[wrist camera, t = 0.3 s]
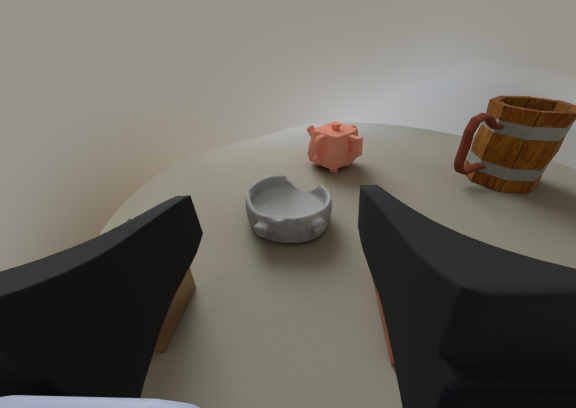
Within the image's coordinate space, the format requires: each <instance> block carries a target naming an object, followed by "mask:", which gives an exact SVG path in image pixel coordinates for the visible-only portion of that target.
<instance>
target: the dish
mask: <svg viewBox="0 0 576 408" xmlns="http://www.w3.org/2000/svg"><path fill="white" fill-rule="evenodd" d="M331 208H332V199H331V195H330V192H329V191H328V190H327V189H326V187H325V186H323V185H319V186H318V187H317V188H316V189H314V190H312V191H303V190H300V189H298V188H296V187H295V186H294V185H293V184H292V183H291V182H289V181H288V180H287V178H286V177H285V176H284V175H274V176H266V177H264V178H263V179H260V180H258V181H257V182H255V183H254V184H253V185H251V186H250V187H249V189H248V191H247V194H246V212H247V216H248V219H249V222H250V224H251V226H252V228H253V230H254V232H255V233H256V234H257V235H258V236H260V237H264V238H266V239H268V240H271V241H275V242H281V243H299V242H306V241H310V240H312V239H315V238H317V237H319V236H320V235H321V234H322V233H323V232H324V231H325V229H326V228H327V226H328V223H329V220H330V216H331Z"/></svg>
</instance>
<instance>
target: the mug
mask: <svg viewBox="0 0 576 408" xmlns="http://www.w3.org/2000/svg"><path fill="white" fill-rule="evenodd" d="M575 120H576V105H573V104H570V103H567V102H564V101H557V100H551V99H544V98H537V97H530V96H498V97H496V98H493V99H490V101H489V105H488V108H487V113H481V114H479V115H477V116H475V117H473V118H471V120H470V122H469V123H468V125H467V126H466V128H465V130H464V133H463V137H462V140H461V144H460V146H459V149H458V152H457V155H456V158H455V161H454V169H455V171H456V172H459V173H461V174H464V175H466V176H467V177H468V178H469V179H470V180H471V181H472V182H475V183H477V184H480V185H483V186H486V187H488V188H491V189H494V190H497V191H499V192H515V193H530V192H531V191H532V190H533V189H534V188H535V187H536V186H537V185H538V183H539V181H540V178H541V176H542V174H543V172H544V170H545V169H546V167H547V165H548V164H549V162H550V161H551V160H552V158H553V157H554V156H555V154H556V153H557V152H558V150H559V148H560V146H561V144H562V142H563V140H564V138H565V136H566V134H567V132H568V131H569V129H570V128H571V126H572V124H573V123H574V121H575ZM481 122H482V124H481V127H480V128H479V130H478V132H477V134H476V136H475V138H474V141H473V145H472V148H471V151H470V154H469V156H468V159H467V161H466V162H465V159H466V157H467V154H468V152H469V149H470V147H471V143H472V140H473V136H474V133H475V131H476V130H477V128H478V127H479V125H480V123H481ZM464 162H465V164H464Z"/></svg>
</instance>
